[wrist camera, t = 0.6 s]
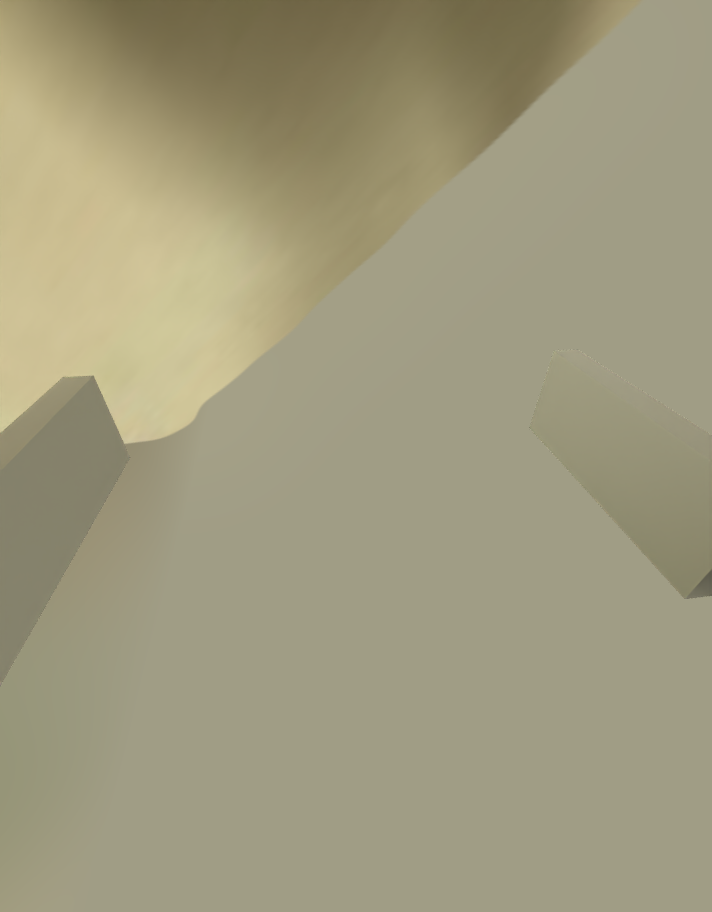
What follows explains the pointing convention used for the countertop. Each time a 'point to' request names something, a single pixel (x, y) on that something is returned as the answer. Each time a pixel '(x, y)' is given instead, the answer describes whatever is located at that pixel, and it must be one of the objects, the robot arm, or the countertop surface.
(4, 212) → the countertop surface
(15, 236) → the countertop surface
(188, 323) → the countertop surface
